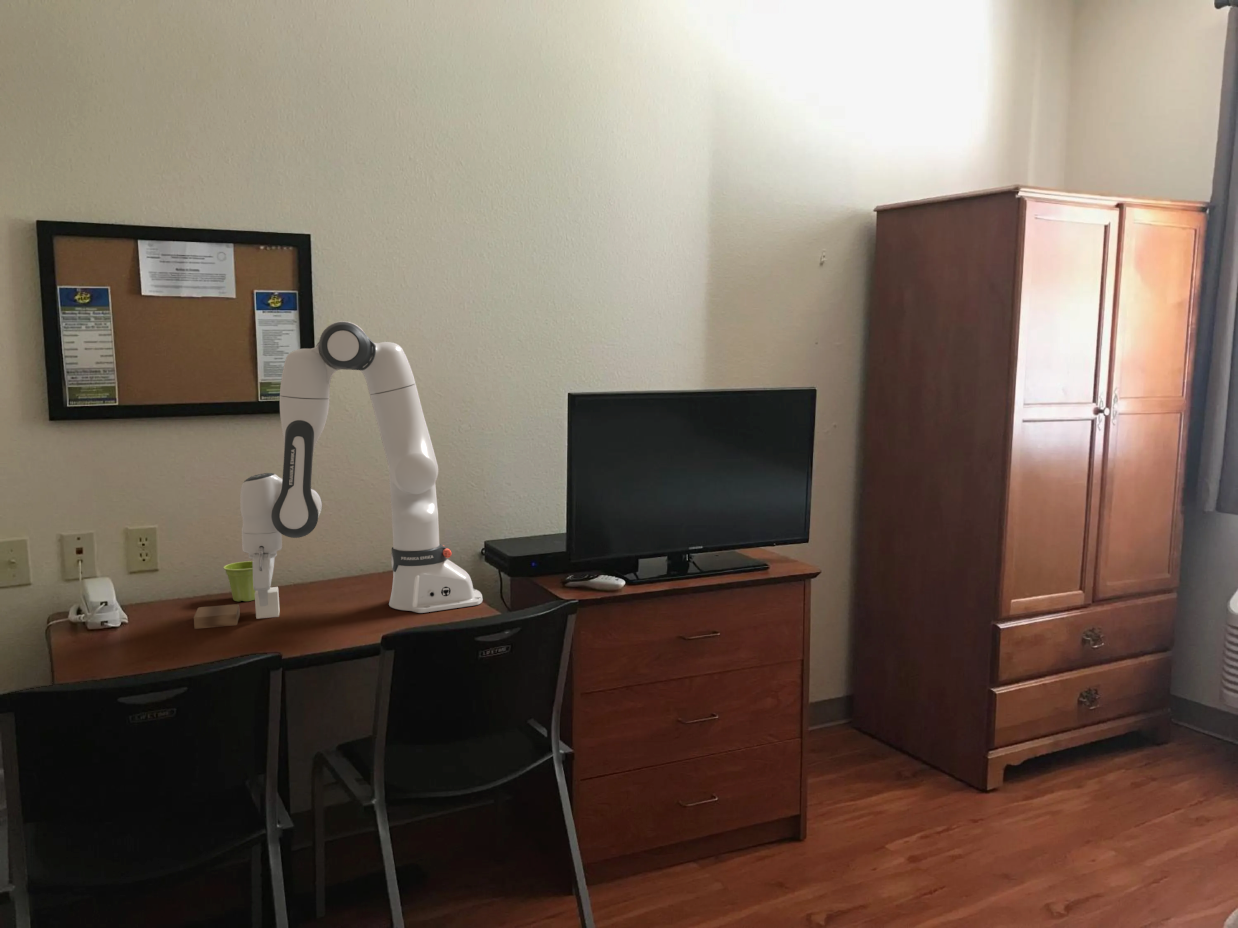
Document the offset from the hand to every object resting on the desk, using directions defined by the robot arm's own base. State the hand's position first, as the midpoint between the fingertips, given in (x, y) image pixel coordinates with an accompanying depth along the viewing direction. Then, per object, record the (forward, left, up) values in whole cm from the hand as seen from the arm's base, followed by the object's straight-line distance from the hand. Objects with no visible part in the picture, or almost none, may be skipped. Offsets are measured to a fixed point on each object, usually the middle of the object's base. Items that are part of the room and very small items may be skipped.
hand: (264, 600), depth 240 cm
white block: (-1, 0, -4) cm, 4 cm away
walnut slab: (+10, +2, -4) cm, 11 cm away
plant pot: (+5, -17, -4) cm, 18 cm away
